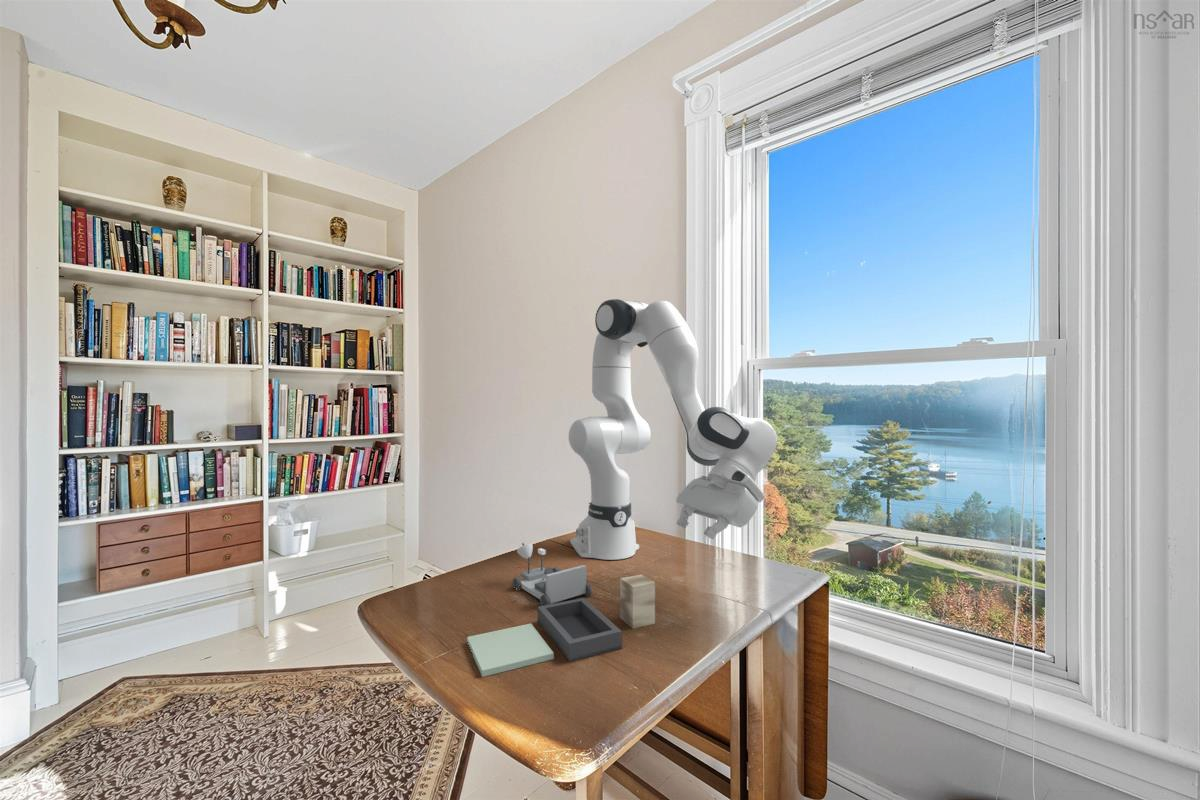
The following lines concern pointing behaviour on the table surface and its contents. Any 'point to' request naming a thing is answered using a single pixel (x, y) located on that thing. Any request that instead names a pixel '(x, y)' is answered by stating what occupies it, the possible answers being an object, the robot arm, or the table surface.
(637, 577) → the birch block
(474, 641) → the pad
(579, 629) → the tray
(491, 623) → the table surface
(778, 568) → the table surface
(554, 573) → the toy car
